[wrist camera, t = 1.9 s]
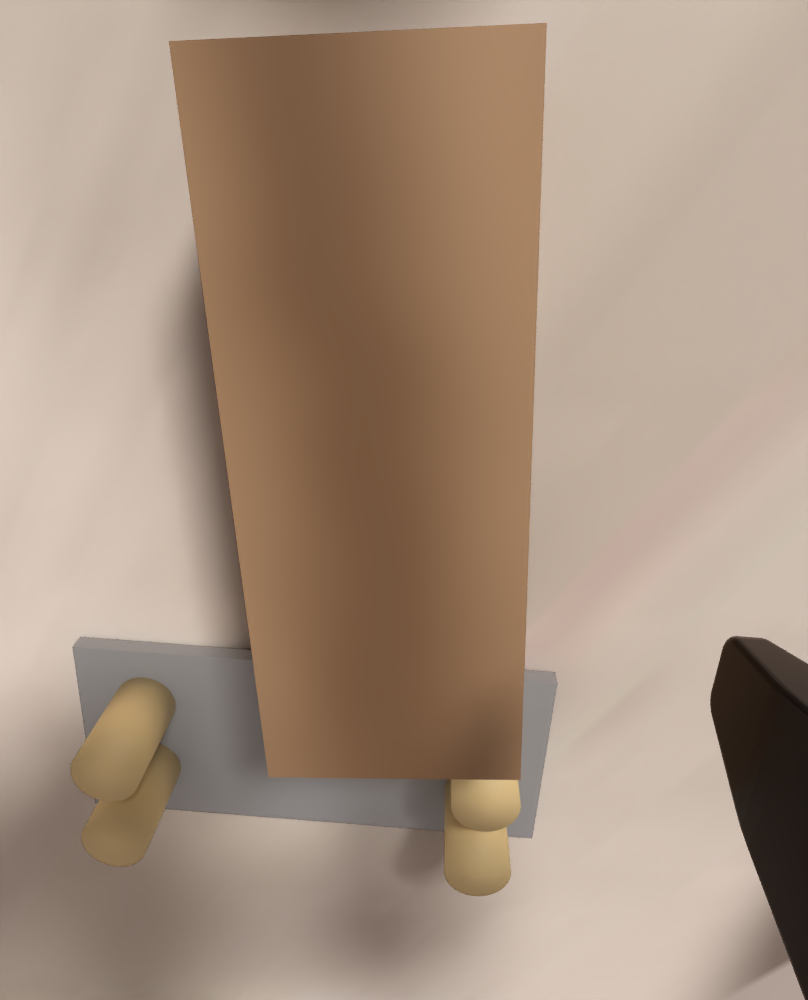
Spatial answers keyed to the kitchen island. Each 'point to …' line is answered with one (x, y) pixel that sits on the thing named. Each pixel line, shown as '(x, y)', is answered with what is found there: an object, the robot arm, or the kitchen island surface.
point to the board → (375, 380)
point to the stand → (243, 768)
